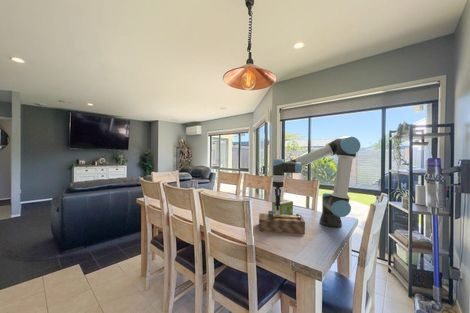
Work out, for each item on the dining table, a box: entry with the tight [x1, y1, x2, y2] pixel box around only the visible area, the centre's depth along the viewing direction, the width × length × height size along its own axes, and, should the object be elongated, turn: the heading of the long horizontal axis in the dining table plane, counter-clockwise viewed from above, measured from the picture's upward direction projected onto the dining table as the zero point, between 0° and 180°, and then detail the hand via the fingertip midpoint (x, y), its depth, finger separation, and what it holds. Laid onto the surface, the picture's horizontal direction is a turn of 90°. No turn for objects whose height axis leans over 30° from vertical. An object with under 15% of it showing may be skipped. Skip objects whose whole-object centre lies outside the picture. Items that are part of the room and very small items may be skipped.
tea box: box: [271, 198, 294, 215], centre depth 165 cm, size 15×10×15 cm
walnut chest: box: [258, 210, 306, 234], centre depth 146 cm, size 30×14×11 cm, turn 83°
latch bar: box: [269, 212, 300, 219], centre depth 145 cm, size 21×4×2 cm, turn 83°
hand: (277, 214), depth 146 cm, fingers closed
